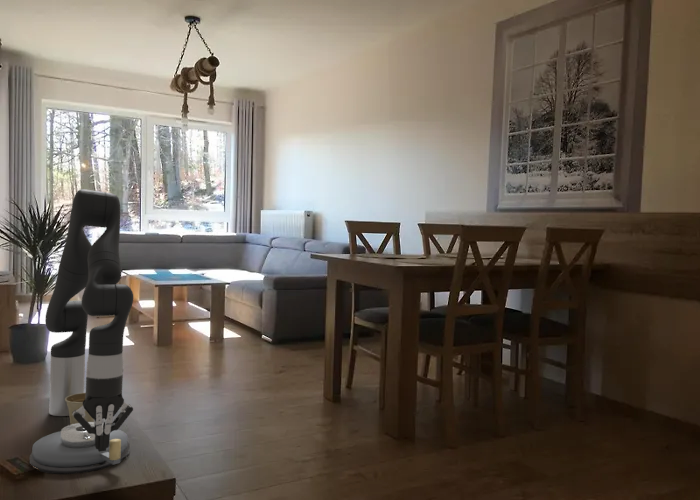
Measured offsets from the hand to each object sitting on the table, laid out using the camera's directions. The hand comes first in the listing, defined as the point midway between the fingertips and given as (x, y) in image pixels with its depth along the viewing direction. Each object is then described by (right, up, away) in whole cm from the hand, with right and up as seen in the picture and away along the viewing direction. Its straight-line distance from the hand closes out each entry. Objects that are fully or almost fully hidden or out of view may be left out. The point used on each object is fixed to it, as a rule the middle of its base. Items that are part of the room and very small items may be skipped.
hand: (101, 450), depth 128 cm
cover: (-9, -2, +12) cm, 15 cm away
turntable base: (-10, -5, +11) cm, 16 cm away
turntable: (-8, -4, +10) cm, 13 cm away
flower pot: (-18, -5, +30) cm, 35 cm away
